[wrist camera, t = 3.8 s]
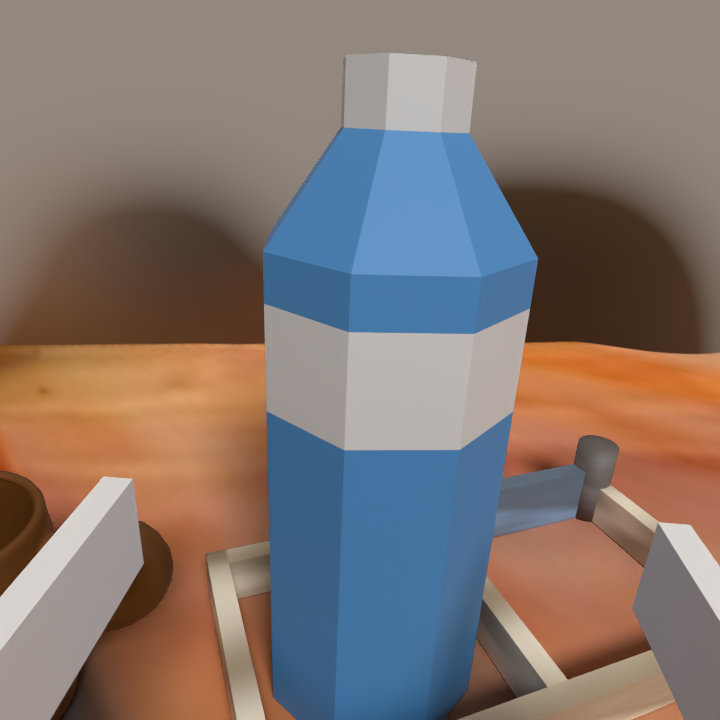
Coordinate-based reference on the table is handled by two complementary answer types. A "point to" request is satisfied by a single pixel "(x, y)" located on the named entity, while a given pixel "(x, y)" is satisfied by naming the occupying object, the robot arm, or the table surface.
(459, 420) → the water bottle
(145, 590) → the mug
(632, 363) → the table surface
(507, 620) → the frame
